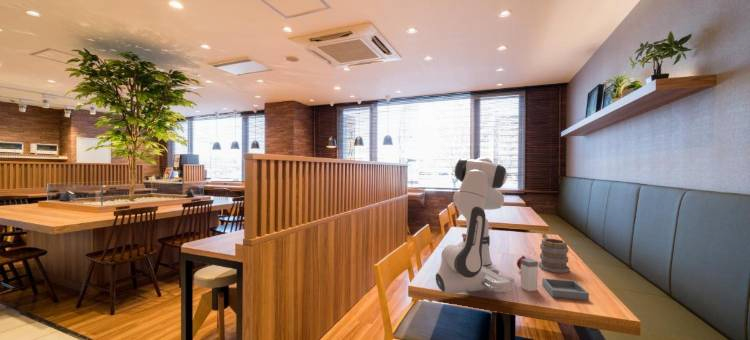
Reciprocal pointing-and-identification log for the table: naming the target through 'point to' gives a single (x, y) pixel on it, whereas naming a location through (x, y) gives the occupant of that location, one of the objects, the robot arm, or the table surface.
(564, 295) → the walled box
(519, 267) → the onion
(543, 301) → the table surface
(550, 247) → the tankard
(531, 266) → the plug
